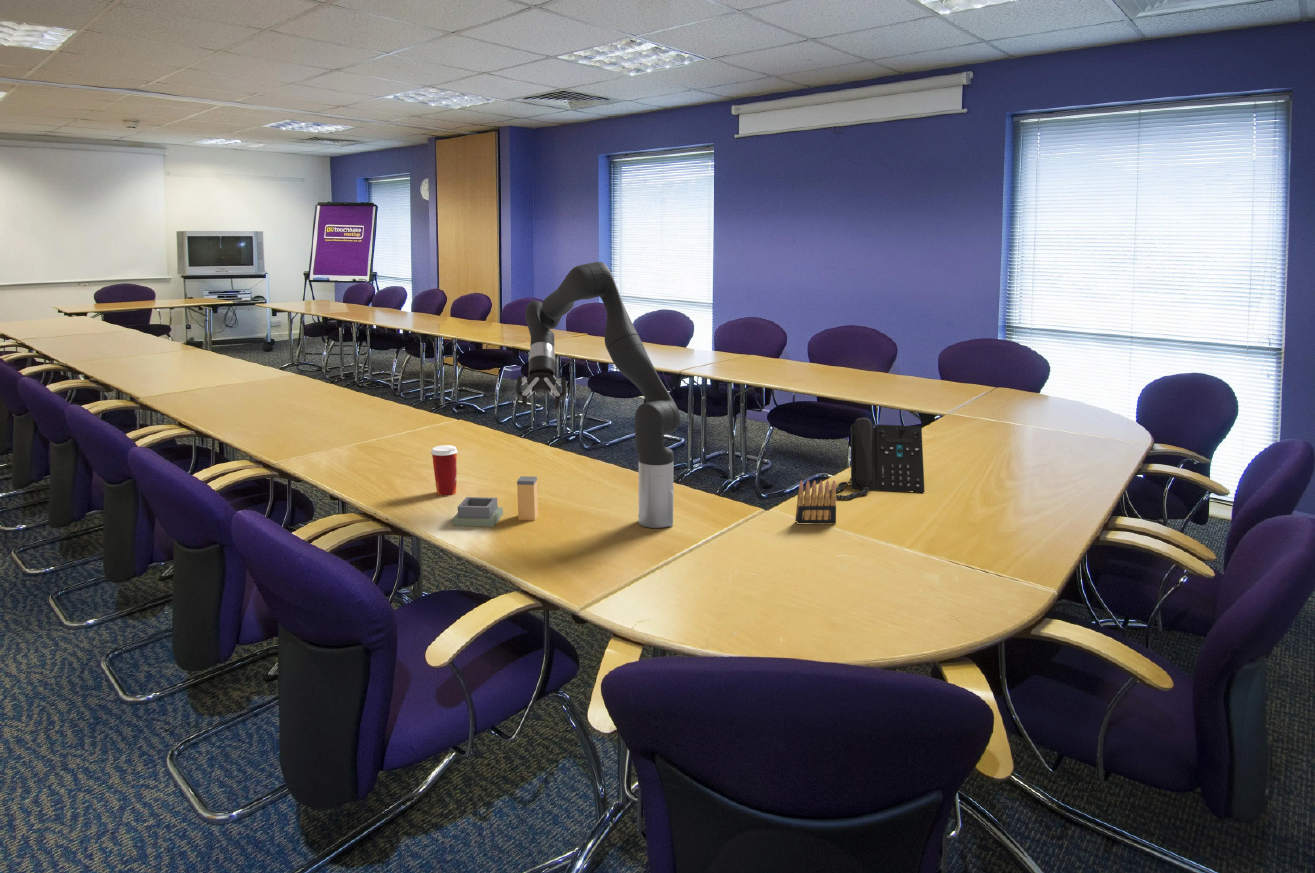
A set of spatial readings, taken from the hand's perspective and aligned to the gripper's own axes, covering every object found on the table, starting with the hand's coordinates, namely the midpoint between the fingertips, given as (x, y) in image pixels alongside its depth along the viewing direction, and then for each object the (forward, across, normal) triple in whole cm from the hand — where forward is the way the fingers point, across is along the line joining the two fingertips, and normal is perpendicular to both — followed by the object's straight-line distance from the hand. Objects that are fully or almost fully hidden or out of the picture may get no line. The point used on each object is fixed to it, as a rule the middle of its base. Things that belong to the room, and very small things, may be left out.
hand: (540, 409), depth 229 cm
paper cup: (+15, -28, +26) cm, 41 cm away
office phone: (+17, +102, +16) cm, 105 cm away
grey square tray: (+31, -16, +6) cm, 36 cm away
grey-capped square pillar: (+30, -3, +6) cm, 31 cm away
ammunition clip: (+36, +74, -6) cm, 83 cm away
